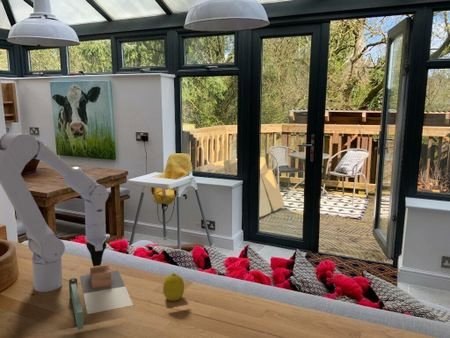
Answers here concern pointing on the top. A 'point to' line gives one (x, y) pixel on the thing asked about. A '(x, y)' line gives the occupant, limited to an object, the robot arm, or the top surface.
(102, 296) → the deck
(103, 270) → the block
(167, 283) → the lemon
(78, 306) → the bar
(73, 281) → the gate post
